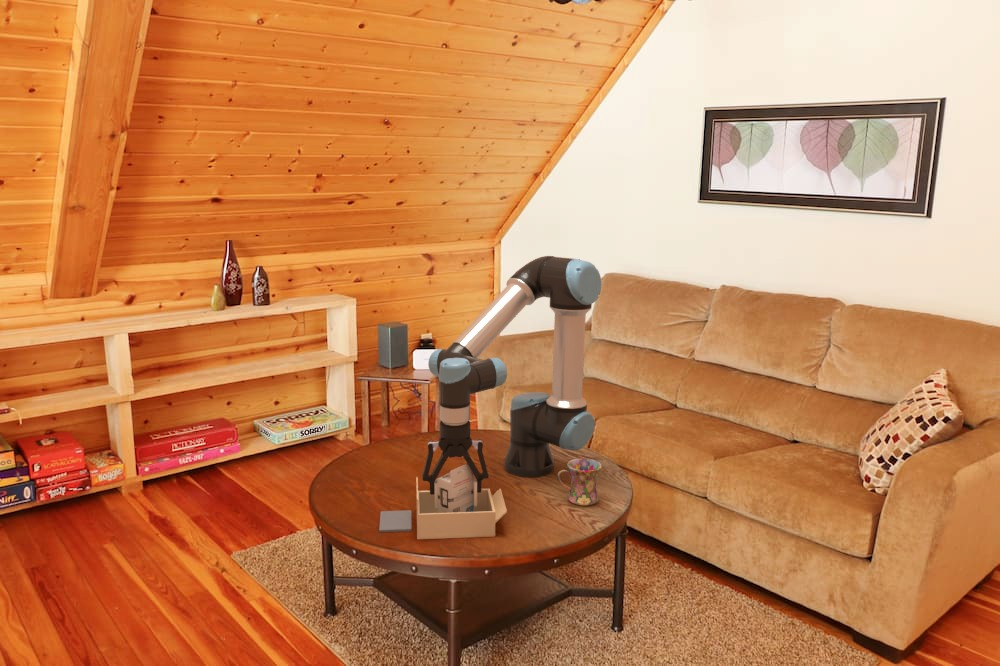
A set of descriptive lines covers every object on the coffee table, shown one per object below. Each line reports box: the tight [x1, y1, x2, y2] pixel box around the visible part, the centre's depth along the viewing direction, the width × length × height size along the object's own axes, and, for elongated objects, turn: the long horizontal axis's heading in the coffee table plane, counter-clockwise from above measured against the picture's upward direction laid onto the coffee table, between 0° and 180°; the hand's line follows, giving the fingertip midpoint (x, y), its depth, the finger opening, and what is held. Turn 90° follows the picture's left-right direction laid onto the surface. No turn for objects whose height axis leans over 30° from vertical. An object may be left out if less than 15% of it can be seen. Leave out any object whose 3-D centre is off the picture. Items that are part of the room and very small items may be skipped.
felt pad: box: [378, 509, 412, 533], centre depth 210 cm, size 8×11×1 cm
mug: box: [557, 458, 603, 506], centre depth 223 cm, size 12×9×11 cm
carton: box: [415, 476, 508, 540], centre depth 209 cm, size 22×17×10 cm
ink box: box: [436, 463, 474, 513], centre depth 207 cm, size 8×5×15 cm, turn 140°
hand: (455, 504), depth 207 cm, fingers closed on ink box, 9 cm apart
